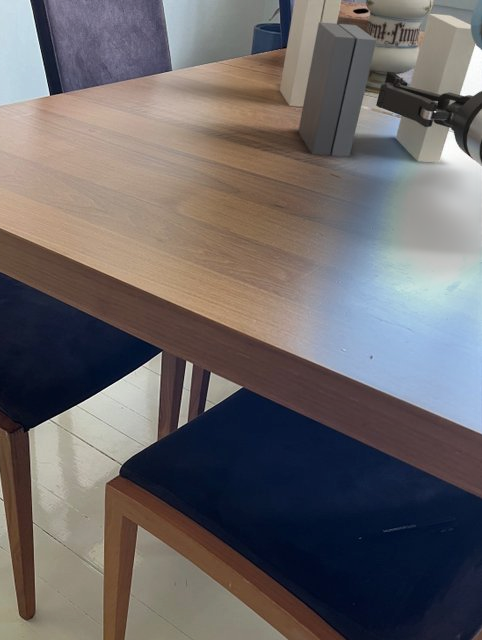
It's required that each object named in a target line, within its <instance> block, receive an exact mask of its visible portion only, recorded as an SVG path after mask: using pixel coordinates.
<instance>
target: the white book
mask: <svg viewBox="0 0 482 640" xmlns="http://www.w3.org/2000/svg"><path fill="white" fill-rule="evenodd" d="M427 16H428V17H427V19H426V24H425V27H424V31H423V33H422V34H423V35H422V38H421V42H420V46H419V53H418V57H417V60H416V64H415V67H414V68H413V71H412V76H411V79H410V83H409V87H412V88H416V89H420V90H424V91H427V92H431V93H435V94H439V95H442V94H444V93H454V94H458V95H461V92H462V89H463V86H464V82H465V79H466V77H467V73H468V70H469V66H470V63H471V60H472V58H473V53H474V50H475V47H476V43H475V42H474V40H473V37H472V33H471V23H467V22H465V21H463V20H462V19H459V18H457V17H455V16H452V15H451V14H450V15H449V14H438V13H429V14H428V15H427ZM454 102H455V101H453V100H450V102H449V105H450V104H452V103H454ZM449 131H450V128H449V127H446V126H442V125H439V124H436V123H434V120H433V123H432V126H431V127H424V126H423V125H421V124H419V123H418V122H416V121H414V120H411V119H409V118H406V117H404V116H401V115H400V121H399V124H398V127H397V132H396V135H395V139H396V140H397V141H398V143H400V145H401V146H402V147H403V148H404V149H405V150H406V151H407V152H408V153H409V154H410V155H411V156H412V157H413V158H414V159H415V160H416V161H417V162H422V163H424V162H425V163H436V164H437V163H440V161H441V157H442V153H443V151H444V147H445V144H446V141H447V137H448V135H449Z"/></svg>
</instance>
